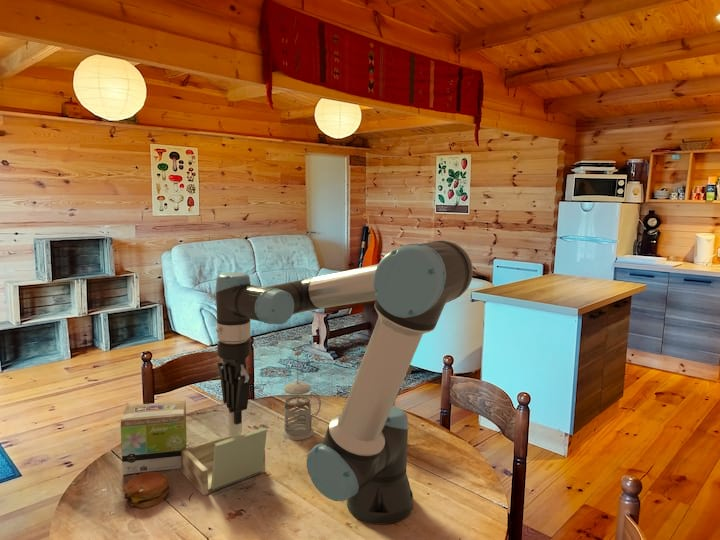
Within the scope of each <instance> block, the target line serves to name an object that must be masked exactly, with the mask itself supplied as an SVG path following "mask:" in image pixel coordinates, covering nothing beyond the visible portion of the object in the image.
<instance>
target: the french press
mask: <svg viewBox="0 0 720 540" xmlns="http://www.w3.org/2000/svg"><path fill="white" fill-rule="evenodd" d="M301 355H302V351H300V350H295V351H294V356H297V357H296V359H297V364H296V365H297V366H296V367H297V368H296V369H297V373H296V375H297V378H296V379H297V381H291V382H290V383H288V384H286V385H284V387H283V391H284V392H285V393H286V394H289V395H294V396H291V397H289V398H287V399H285V405H284V428H283V429H282V430H281V431H280V433H281V435H282V437H283V438H285V439H288V440H293V441H296V440H297V441H298V440H301V441H302V440H305V439H308V438H311V437H312V436H313V435H314V433H315V429H314V428H313V427H312V418H315V417H316V416H318V415H319V412H320V409H321V405H322V401H321V398H320V396H319V395H318V394H317V393H316V392H314V391H311V390H312V386H311V385H310V384H308V383H307V382H305V381H299V356H301ZM309 392H310V394H309V398H308V397H305V396H301V395H305V394H308V393H309ZM295 395H296V396H295ZM312 396H313V397H315V398H316V399H317V402H318V410H317V411H316V412H315V413H313V414H311V413H312V412H311V411H312V409H311V407H312V405H311V403H310V402H311V400H310V399H311V398H312ZM293 408H294V409H293ZM291 409H292V410H291Z"/></svg>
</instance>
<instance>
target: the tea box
mask: <svg viewBox="0 0 720 540" xmlns="http://www.w3.org/2000/svg"><path fill="white" fill-rule="evenodd" d="M186 406H187V405H186V400H180V401H177V400H176V401H167V402H155V403H154V402H153V403H140V404H128V405H127V404H126V407H125V408H124V412H123V415H122V418H121V420H120V443H121V446H120V447H121V466H122V469H121V470H122V475H123V476H124V475H131V474H138V473H139V474H140V473H146V472H156V471H158V472H159V471H167V470H169V471H171V470H178V469H181V470H182V466H181V449H185V448H187V409H186V408H187V407H186Z"/></svg>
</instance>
